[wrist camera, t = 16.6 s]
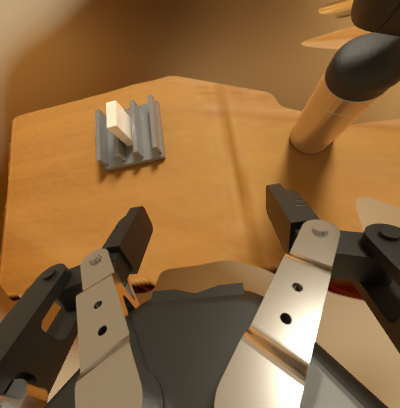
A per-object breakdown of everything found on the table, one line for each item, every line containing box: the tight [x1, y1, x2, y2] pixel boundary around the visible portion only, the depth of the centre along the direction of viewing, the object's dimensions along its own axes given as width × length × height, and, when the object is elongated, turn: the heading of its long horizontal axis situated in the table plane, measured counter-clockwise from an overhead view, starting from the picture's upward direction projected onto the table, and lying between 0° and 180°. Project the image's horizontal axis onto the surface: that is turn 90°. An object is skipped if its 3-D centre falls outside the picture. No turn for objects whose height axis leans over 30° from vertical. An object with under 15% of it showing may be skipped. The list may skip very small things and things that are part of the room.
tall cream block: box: [106, 101, 133, 146], centre depth 47 cm, size 7×3×9 cm, turn 7°
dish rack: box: [95, 95, 165, 171], centre depth 51 cm, size 18×18×5 cm
